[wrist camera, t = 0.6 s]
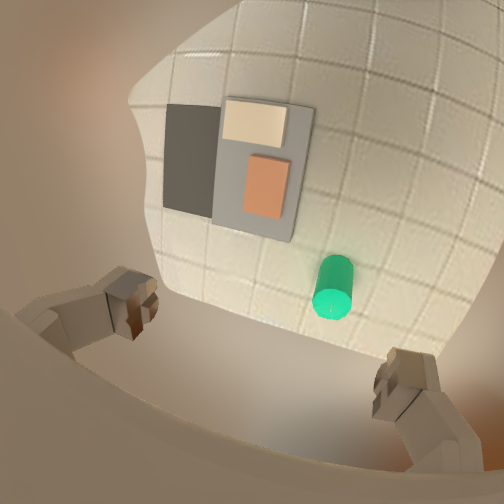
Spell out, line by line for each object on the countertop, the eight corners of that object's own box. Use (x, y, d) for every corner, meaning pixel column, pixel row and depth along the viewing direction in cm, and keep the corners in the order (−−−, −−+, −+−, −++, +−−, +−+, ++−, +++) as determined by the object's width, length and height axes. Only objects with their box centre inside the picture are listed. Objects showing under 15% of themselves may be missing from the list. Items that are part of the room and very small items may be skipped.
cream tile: (227, 137, 45) (222, 138, 43) (231, 100, 42) (226, 100, 40) (283, 146, 43) (280, 148, 41) (289, 107, 40) (286, 107, 38)
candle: (323, 251, 51) (314, 290, 41) (356, 258, 50) (355, 298, 40) (317, 280, 54) (307, 322, 44) (349, 287, 53) (345, 330, 42)
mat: (168, 104, 47) (166, 104, 47) (224, 108, 45) (223, 108, 44) (164, 206, 57) (163, 207, 57) (214, 218, 55) (213, 218, 54)
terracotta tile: (253, 153, 45) (249, 155, 43) (291, 161, 43) (288, 163, 42) (246, 207, 49) (242, 211, 47) (282, 215, 48) (279, 219, 46)
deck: (228, 96, 44) (222, 96, 42) (315, 108, 41) (313, 108, 39) (217, 218, 55) (211, 223, 53) (292, 237, 52) (289, 243, 50)
